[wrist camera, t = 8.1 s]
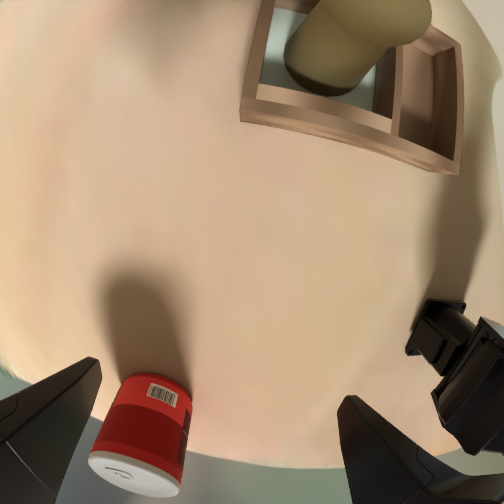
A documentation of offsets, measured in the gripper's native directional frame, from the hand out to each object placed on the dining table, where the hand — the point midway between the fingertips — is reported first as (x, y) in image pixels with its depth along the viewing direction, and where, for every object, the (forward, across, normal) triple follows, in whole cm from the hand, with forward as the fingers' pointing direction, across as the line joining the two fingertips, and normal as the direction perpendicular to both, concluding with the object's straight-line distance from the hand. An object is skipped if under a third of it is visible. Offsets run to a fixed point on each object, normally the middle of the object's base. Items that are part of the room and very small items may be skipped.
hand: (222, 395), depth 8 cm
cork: (+12, -4, -17) cm, 21 cm away
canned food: (+13, +6, +16) cm, 22 cm away
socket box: (+13, -6, -17) cm, 22 cm away
